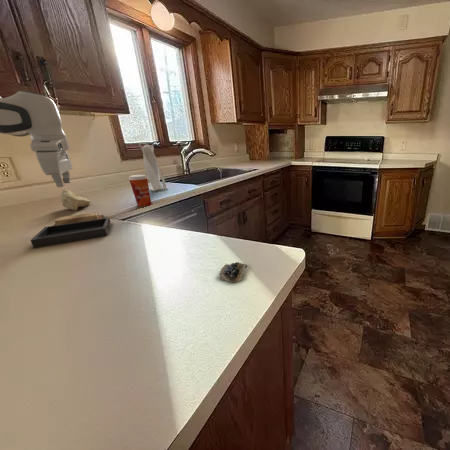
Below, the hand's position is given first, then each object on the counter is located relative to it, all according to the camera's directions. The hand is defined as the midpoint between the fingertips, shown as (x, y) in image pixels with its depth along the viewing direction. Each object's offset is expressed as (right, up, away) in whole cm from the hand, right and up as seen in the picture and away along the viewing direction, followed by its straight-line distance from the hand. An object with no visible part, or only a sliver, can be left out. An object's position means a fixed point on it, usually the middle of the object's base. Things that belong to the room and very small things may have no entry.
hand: (64, 184), depth 89 cm
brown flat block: (0, -14, +5) cm, 15 cm away
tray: (+11, -18, -7) cm, 22 cm away
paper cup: (+11, -5, +29) cm, 31 cm away
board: (+1, -13, +5) cm, 14 cm away
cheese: (-17, -7, +24) cm, 30 cm away
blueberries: (+70, -26, -32) cm, 82 cm away
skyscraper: (-3, +7, +63) cm, 63 cm away
